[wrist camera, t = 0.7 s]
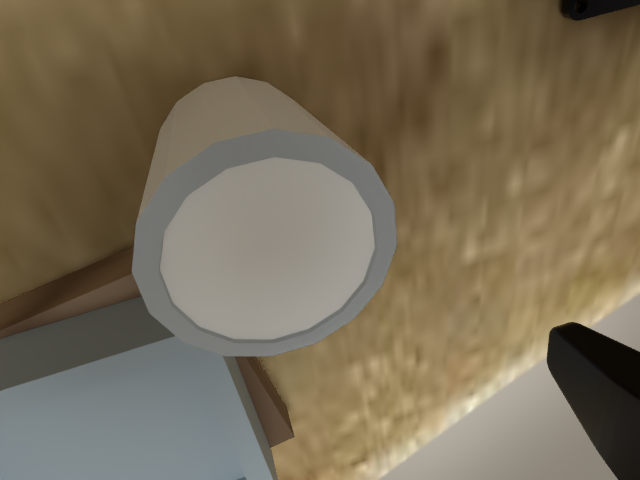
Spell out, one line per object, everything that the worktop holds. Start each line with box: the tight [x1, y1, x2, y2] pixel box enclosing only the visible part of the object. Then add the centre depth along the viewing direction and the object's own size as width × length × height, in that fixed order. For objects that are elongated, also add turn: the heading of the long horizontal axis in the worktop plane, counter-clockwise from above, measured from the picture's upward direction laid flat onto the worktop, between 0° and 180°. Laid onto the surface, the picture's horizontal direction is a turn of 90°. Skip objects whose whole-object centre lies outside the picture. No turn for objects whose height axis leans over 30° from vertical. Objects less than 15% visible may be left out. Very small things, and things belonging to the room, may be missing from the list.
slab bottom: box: [0, 247, 294, 448], centre depth 23 cm, size 12×12×2 cm
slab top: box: [0, 296, 278, 480], centre depth 21 cm, size 11×11×3 cm
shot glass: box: [132, 76, 397, 356], centre depth 16 cm, size 7×7×7 cm
